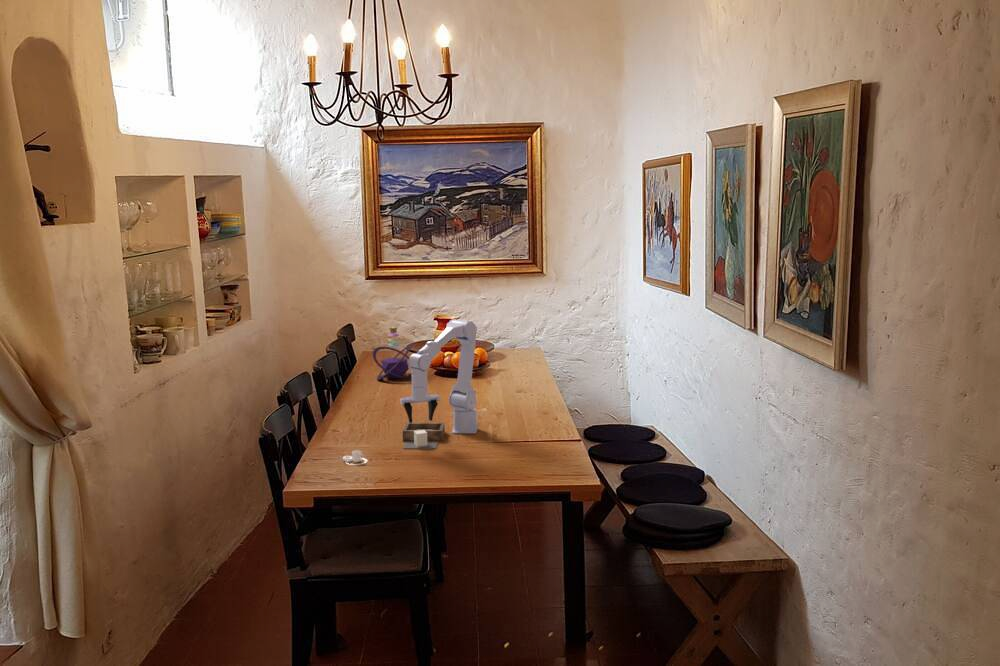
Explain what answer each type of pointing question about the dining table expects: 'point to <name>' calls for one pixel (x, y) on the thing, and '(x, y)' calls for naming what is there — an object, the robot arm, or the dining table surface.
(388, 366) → the decorative bottle
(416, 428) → the walnut box
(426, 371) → the robot arm
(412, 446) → the charcoal mat
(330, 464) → the dining table surface
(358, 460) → the teacup and saucer
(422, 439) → the cream block
